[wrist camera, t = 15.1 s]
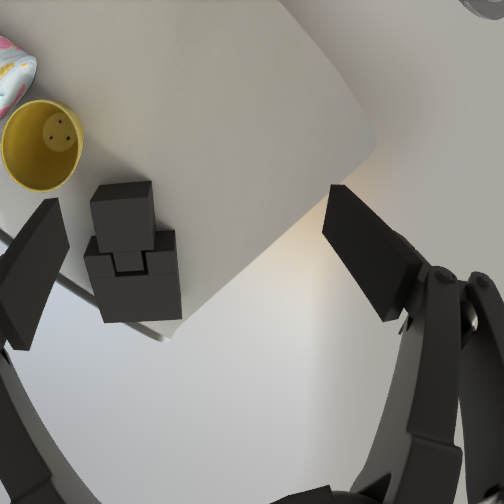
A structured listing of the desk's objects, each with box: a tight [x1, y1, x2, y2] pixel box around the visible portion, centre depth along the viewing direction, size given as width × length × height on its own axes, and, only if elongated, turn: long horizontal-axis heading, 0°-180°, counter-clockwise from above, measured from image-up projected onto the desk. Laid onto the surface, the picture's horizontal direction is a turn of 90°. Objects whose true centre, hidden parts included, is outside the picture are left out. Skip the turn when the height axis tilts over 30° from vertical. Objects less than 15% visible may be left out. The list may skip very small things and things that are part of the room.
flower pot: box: [1, 100, 83, 192], centre depth 27 cm, size 10×10×7 cm
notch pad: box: [83, 230, 182, 323], centre depth 42 cm, size 12×12×5 cm
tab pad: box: [90, 181, 156, 272], centre depth 37 cm, size 7×10×5 cm
